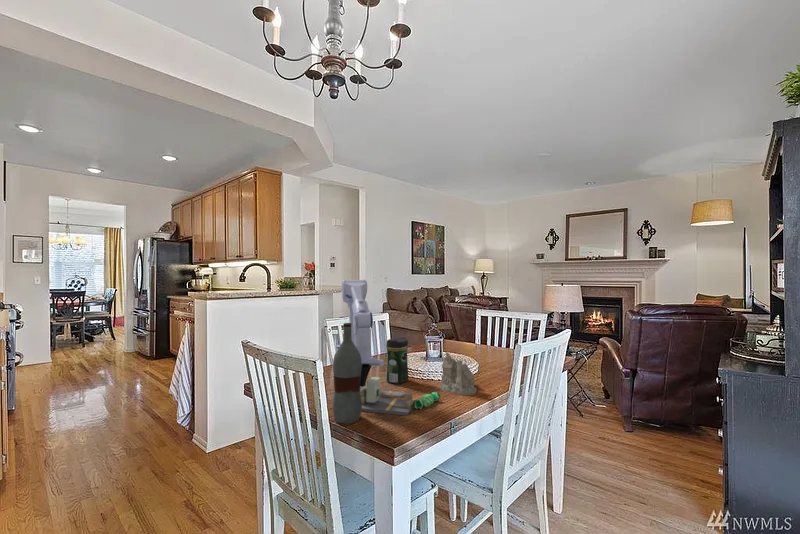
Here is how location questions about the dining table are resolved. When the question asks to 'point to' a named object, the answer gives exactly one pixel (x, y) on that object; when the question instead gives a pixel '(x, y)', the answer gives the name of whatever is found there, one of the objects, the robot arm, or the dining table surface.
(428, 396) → the candy
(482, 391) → the dining table surface
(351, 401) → the bottle
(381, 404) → the pipe rig
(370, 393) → the grey square nut
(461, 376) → the jagged grey rock
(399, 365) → the coffee jar
